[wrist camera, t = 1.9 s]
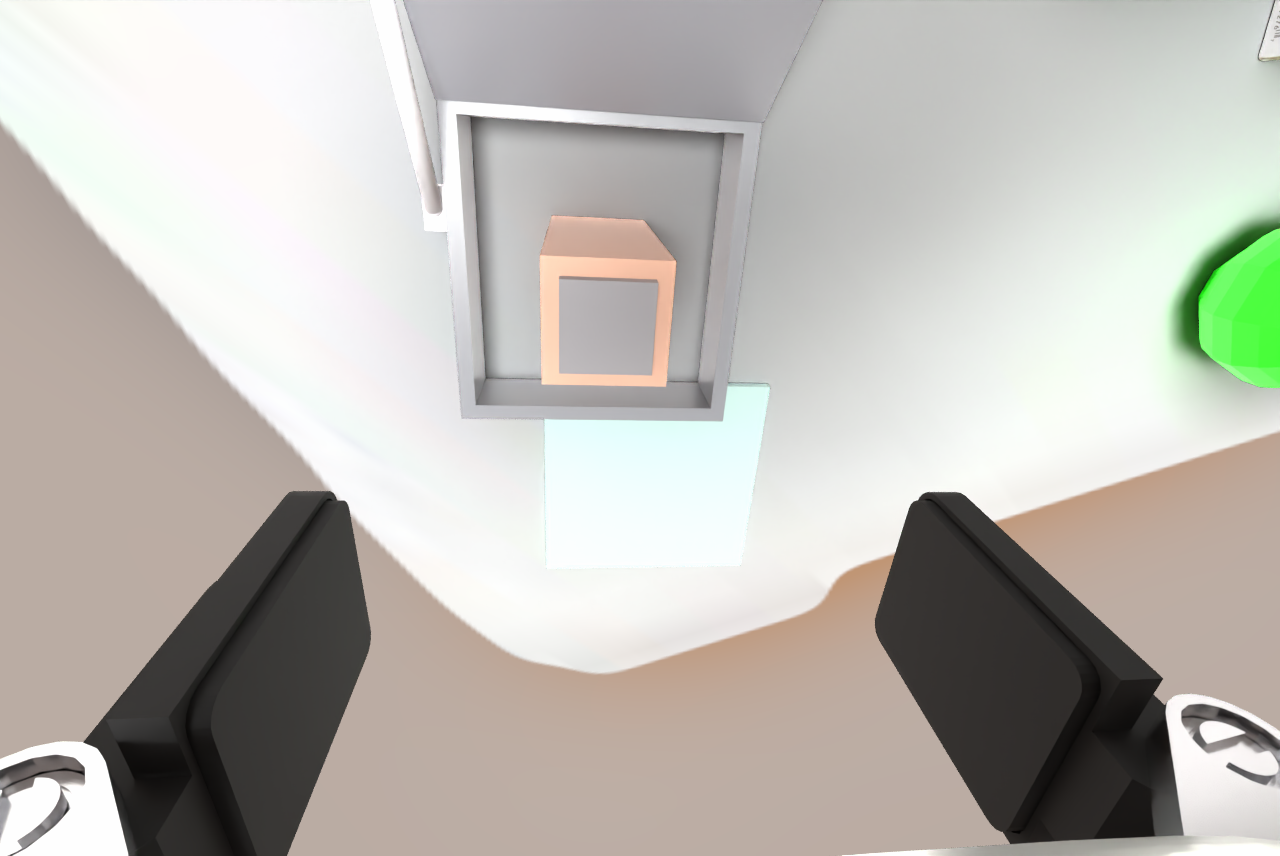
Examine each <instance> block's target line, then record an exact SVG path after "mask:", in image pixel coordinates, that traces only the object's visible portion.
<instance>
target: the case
mask: <svg viewBox="0 0 1280 856" xmlns="http://www.w3.org/2000/svg"><path fill="white" fill-rule="evenodd" d="M822 1H823V0H403V2H404V5H405V8H406V11H407V14H408V17H409V20H410V23H411V26H412V30H413V33H414V36H415V39H416V42H417V45H418V48H419V51H420V54H421V57H422V60H423V64H424V67H425V70H426V73H427V76H428V79H429V82H430V85H431V88H432V91H433V94H434V98H435V99H436V103H437V115H438V128H439V141H440V153H441V166H442V178H443V184H437V181H436V176H435V172H434V168H433V163H432V159H431V155H430V150H429V146H428V142H427V137H426V133H425V128H424V124H423V120H422V115H421V111H420V107H419V102H418V98H417V94H416V89H415V85H414V81H413V76H412V72H411V68H410V63H409V59H408V54H407V50H406V46H405V41H404V37H403V33H402V28H401V24H400V20H399V15H398V11H397V7H396V2H395V0H370V2H371V6H372V10H373V14H374V18H375V21H376V25H377V29H378V33H379V37H380V40H381V44H382V48H383V52H384V56H385V59H386V63H387V67H388V71H389V75H390V78H391V82H392V86H393V90H394V94H395V98H396V101H397V105H398V109H399V113H400V117H401V120H402V124H403V128H404V132H405V136H406V139H407V143H408V147H409V151H410V155H411V158H412V162H413V166H414V170H415V174H416V177H417V181H418V185H419V189H420V193H421V196H422V205H423V215H424V226H425V231H446V232H447V241H448V254H449V266H450V279H451V292H452V304H453V317H454V329H455V342H456V354H457V367H458V380H459V392H460V405H461V417H462V418H470V419H553V420H636V421H719V422H723V417H724V409H725V402H726V394H727V387H728V379H729V371H730V364H731V356H732V349H733V341H734V334H735V326H736V319H737V311H738V304H739V296H740V288H741V281H742V273H743V266H744V258H745V251H746V243H747V236H748V228H749V221H750V213H751V205H752V198H753V190H754V183H755V175H756V168H757V160H758V153H759V145H760V138H761V130H762V122H764V121H765V119H766V117H767V115H768V113H769V111H770V109H771V107H772V105H773V103H774V101H775V98H776V96H777V94H778V92H779V90H780V88H781V86H782V84H783V82H784V80H785V78H786V76H787V74H788V71H789V69H790V67H791V65H792V63H793V61H794V59H795V57H796V55H797V53H798V51H799V49H800V47H801V44H802V42H803V40H804V38H805V36H806V34H807V32H808V30H809V28H810V26H811V24H812V22H813V20H814V17H815V15H816V13H817V11H818V9H819V7H820V5H821V3H822ZM470 116H472V117H487V118H502V119H517V120H531V121H546V122H561V123H576V124H590V125H605V126H620V127H635V128H649V129H664V130H679V131H694V132H709V133H723V134H725V137H724V146H723V155H722V165H721V174H720V183H719V192H718V201H717V211H716V220H715V229H714V238H713V247H712V257H711V266H710V275H709V284H708V293H707V303H706V312H705V321H704V330H703V339H702V349H701V358H700V367H699V376H698V382H666V387H656V386H603V385H549V384H542V380H541V379H497V378H486V375H485V358H484V341H483V324H482V306H481V289H480V272H479V255H478V238H477V220H476V203H475V186H474V169H473V152H472V134H471V117H470Z"/></svg>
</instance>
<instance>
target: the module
mask: <svg viewBox="0 0 1280 856" xmlns="http://www.w3.org/2000/svg"><path fill="white" fill-rule="evenodd" d="M676 263H677V261H676V260H675V259H674V257H673V256H672V255H671V254H670V252H669V251H668V250H667V248H666V247H665V246H664V245H663V243H662V242H661V241H660V240H659V238H658V237H657V236H656V235H655V233H654V232H653V231H652V230H651V228H650V227H649V226H648V225H647V223H646V222H645V221H644V220H635V219H615V218H596V217H576V216H556V215H552V217H551V220H550V223H549V226H548V230H547V233H546V236H545V240H544V243H543V246H542V249H541V253H540V310H541V380H542V384H549V385H603V386H656V387H666V382H667V370H668V358H669V346H670V334H671V322H672V310H673V298H674V286H675V274H676Z"/></svg>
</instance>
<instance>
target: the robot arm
mask: <svg viewBox="0 0 1280 856" xmlns="http://www.w3.org/2000/svg"><path fill="white" fill-rule="evenodd" d="M875 628H876V633H877V636H878V638H879V641H880V642H881V644H882V646H883V647H884V649H885V650H886V652H887V654H888V656H889V657H890V659H891V661H892V662H893V664H894V665H895V667H896V669H897V670H898V672H899V674H900V675H901V677H902V679H903V680H904V682H905V684H906V685H907V687H908V689H909V690H910V692H911V693H912V695H913V697H914V699H915V700H916V702H917V704H918V705H919V707H920V708H921V710H922V712H923V714H924V715H925V717H926V719H927V720H928V722H929V724H930V725H931V727H932V729H933V730H934V732H935V733H936V735H937V737H938V738H939V740H940V741H941V743H942V745H943V747H944V748H945V750H946V752H947V753H948V755H949V757H950V758H951V760H952V762H953V763H954V765H955V767H956V768H957V770H958V772H959V773H960V775H961V777H962V778H963V780H964V782H965V783H966V785H967V787H968V788H969V790H970V792H971V793H972V795H973V797H974V798H975V800H976V801H977V803H978V805H979V806H980V808H981V810H982V811H983V813H984V815H985V816H986V818H987V819H988V821H989V822H990V824H991V825H992V826H993V827H994V828H995V829H997V830H999V831H1001V832H1003V833H1004V834H1005V836H1006V838H1007V839H1008V841H1009V842H1010V844H1007V845H992V846H977V847H963V848H948V849H932V850H918V851H902V852H886V853H872V854H859V855H844V856H1280V731H1278V730H1277V729H1276V728H1274V727H1273V726H1271V725H1269V724H1268V723H1266V722H1265V721H1263V720H1261V719H1260V718H1258V717H1256V716H1255V715H1253V714H1251V713H1249V712H1247V711H1245V710H1243V709H1241V708H1238V707H1236V706H1234V705H1232V704H1230V703H1227V702H1224V701H1221V700H1218V699H1215V698H1211V697H1208V696H1202V695H1195V694H1183V695H1176V696H1174V697H1173V698H1172V699H1170V700H1169V701H1168V702H1167V703H1166V705H1164V704H1163V703H1162V702H1161V701H1160V700H1158V698H1156V697H1155V696H1154V695H1153V694H1154V692H1155V691H1156V689H1157V688H1158V686H1159V684H1160V683H1161V681H1162V680H1163V678H1162V677H1161V676H1160V675H1159V674H1158V673H1157V672H1156V671H1154V670H1153V669H1152V668H1151V667H1150V666H1149V665H1148V664H1147V663H1146V662H1145V661H1144V660H1142V659H1141V658H1140V657H1139V656H1138V655H1137V654H1136V653H1135V652H1134V651H1133V650H1132V649H1131V648H1130V647H1128V646H1127V645H1126V644H1125V643H1124V642H1123V641H1122V640H1121V639H1119V637H1118V636H1116V635H1115V634H1114V633H1113V632H1112V631H1111V630H1110V629H1109V628H1108V627H1107V626H1106V625H1105V624H1103V623H1102V622H1101V621H1100V620H1099V619H1098V618H1097V617H1096V616H1095V615H1094V614H1093V613H1091V612H1090V611H1089V610H1088V609H1087V608H1086V607H1085V606H1084V605H1083V604H1082V603H1081V602H1080V601H1079V600H1077V599H1076V598H1075V597H1074V596H1073V595H1072V594H1071V593H1070V592H1069V591H1068V590H1066V589H1065V588H1064V587H1063V586H1062V585H1061V584H1060V583H1059V582H1058V581H1057V580H1056V579H1055V578H1054V577H1053V576H1051V575H1050V574H1049V573H1048V572H1047V571H1046V570H1045V569H1044V568H1043V567H1042V566H1041V565H1039V564H1038V563H1037V562H1036V561H1035V560H1034V559H1033V558H1032V557H1031V556H1030V555H1029V554H1028V553H1027V552H1025V551H1024V550H1023V549H1022V548H1021V547H1020V546H1019V545H1018V544H1017V543H1016V542H1015V541H1014V540H1012V539H1011V538H1010V537H1009V536H1008V535H1007V534H1006V533H1005V532H1004V531H1003V530H1002V529H1001V528H999V527H998V526H997V525H996V524H995V523H994V522H993V521H992V520H991V519H990V518H989V517H988V516H986V515H985V514H984V513H983V512H982V511H981V510H980V509H979V508H978V507H977V506H976V505H975V504H973V503H972V502H971V501H970V500H969V499H968V498H967V497H966V496H965V495H963V494H961V493H957V492H927V493H924V494H922V496H921V497H920V498H919V500H918V501H914V502H913V503H912V504H911V506H910V508H909V511H908V514H907V517H906V520H905V523H904V527H903V530H902V533H901V536H900V540H899V543H898V546H897V549H896V553H895V556H894V559H893V562H892V566H891V569H890V572H889V576H888V578H887V582H886V585H885V588H884V592H883V595H882V598H881V601H880V604H879V608H878V611H877V614H876V618H875ZM370 640H371V630H370V624H369V618H368V612H367V607H366V602H365V596H364V590H363V585H362V579H361V573H360V568H359V562H358V557H357V551H356V545H355V539H354V534H353V528H352V523H351V517H350V511H349V507H348V504H347V503H346V502H345V501H337V499H336V497H335V495H334V493H332V492H331V491H293V492H289V493H288V494H287V495H286V496H285V497H284V499H283V500H282V501H281V502H280V504H279V505H278V506H277V507H276V509H275V510H274V511H273V512H272V514H271V515H270V516H269V517H268V519H267V520H266V521H265V522H264V523H263V525H262V526H261V527H260V529H259V530H258V531H257V532H256V533H255V535H254V536H253V537H252V538H251V540H250V541H249V542H248V543H247V545H246V546H245V547H244V548H243V550H242V551H241V552H240V553H239V555H238V556H237V557H236V558H235V560H234V561H233V562H232V563H231V565H230V566H229V567H228V568H227V569H226V571H225V572H224V573H223V575H222V576H221V577H220V578H219V579H218V581H216V582H215V583H214V584H213V585H212V586H210V587H209V589H207V591H206V592H205V593H204V594H203V595H202V597H201V598H200V599H199V600H198V602H197V603H196V604H195V605H194V607H193V608H192V609H191V610H190V611H189V613H188V614H187V615H186V616H185V618H184V619H183V620H182V621H181V623H180V624H179V625H178V626H177V628H176V629H175V630H174V631H173V632H172V634H171V635H170V636H169V637H168V639H167V640H166V641H165V642H164V643H163V645H162V646H161V647H160V648H159V650H158V651H157V652H156V653H155V655H154V656H153V657H152V658H151V660H150V661H149V662H148V663H147V664H146V666H145V667H144V668H143V669H142V671H141V672H140V673H139V674H138V676H137V677H136V678H135V679H134V681H133V682H132V683H131V684H130V686H129V687H128V688H127V689H126V690H125V692H124V693H123V694H122V695H121V696H120V698H119V699H118V700H117V702H116V703H115V704H114V705H113V706H112V708H111V709H110V710H109V711H108V713H107V714H106V715H105V716H104V717H103V719H102V720H101V721H100V722H99V724H98V725H97V726H96V727H95V729H94V730H93V731H92V732H91V733H90V735H89V736H88V737H87V738H86V740H85V741H84V742H62V741H61V742H60V741H59V742H54V743H50V744H44V745H39V746H34V747H31V748H28V749H26V750H23V751H20V752H18V753H15V754H12V755H10V756H7V757H4V758H2V759H0V856H287V854H288V852H289V849H290V847H291V844H292V841H293V839H294V837H295V834H296V832H297V829H298V826H299V824H300V822H301V819H302V817H303V814H304V812H305V809H306V807H307V804H308V802H309V799H310V797H311V794H312V792H313V789H314V787H315V784H316V782H317V779H318V777H319V774H320V772H321V769H322V767H323V764H324V762H325V759H326V757H327V754H328V752H329V749H330V746H331V744H332V742H333V739H334V736H335V734H336V732H337V729H338V727H339V724H340V722H341V719H342V717H343V714H344V712H345V709H346V707H347V704H348V702H349V699H350V697H351V694H352V692H353V689H354V686H355V684H356V682H357V679H358V677H359V674H360V672H361V669H362V667H363V664H364V662H365V659H366V657H367V654H368V651H369V646H370Z"/></svg>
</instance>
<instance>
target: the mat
mask: <svg viewBox="0 0 1280 856" xmlns="http://www.w3.org/2000/svg"><path fill="white" fill-rule="evenodd" d="M769 391H770V386H769V385H768V384H754V383H728V387H727V394H726V402H725V409H724V417H723V422H719V421H636V420H553V419H544V423H545V504H546V569H554V568H617V567H680V566H741V560H742V554H743V548H744V542H745V536H746V530H747V524H748V518H749V512H750V506H751V500H752V494H753V488H754V482H755V476H756V470H757V464H758V458H759V452H760V446H761V440H762V434H763V428H764V422H765V415H766V409H767V403H768V397H769Z"/></svg>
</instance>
